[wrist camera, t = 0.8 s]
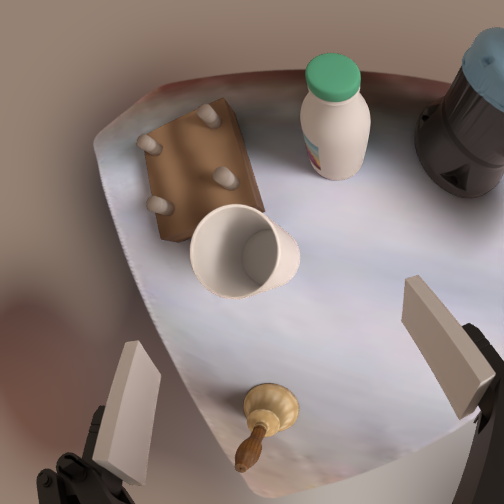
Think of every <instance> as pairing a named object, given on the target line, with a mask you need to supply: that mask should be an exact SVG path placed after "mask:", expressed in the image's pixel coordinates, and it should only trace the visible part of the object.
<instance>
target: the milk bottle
mask: <svg viewBox="0 0 504 504" xmlns="http://www.w3.org/2000/svg"><path fill="white" fill-rule="evenodd" d="M305 76H306V82H307V86H308V90H309V93H308V94H307V95H306V97H305V99H304V101H303V103H302V107H301V112H300V121H301V127H302V132H303V136H304V140H305V144H306V148H307V152H308V155H309V159H310V162H311V164H312V166H313V168H314V169H315V170H316V171H317V172H318V173H319V174H320V175H321V176H323V177H325V178H327V179H331V180H345V179H348V178H350V177H352V176H354V175H355V174H356V173H357V172H358V171H359V170H360V168H361V166H362V164H363V161H364V157H365V153H366V148H367V143H368V138H369V132H370V122H371V121H370V112H369V109H368V106H367V104H366V102H365V100H364V98H363V97H362V95H361V94H360V93H359V91H360V81H361V76H360V71H359V69H358V67H357V65H356V64H355V63H354V62H353V61H352V60H351V59H350V58H348V57H346V56H344V55H341V54H335V53H327V54H322V55H319V56H317V57H315V58H314V59H312V60H311V61H310V62H309V64H308V65H307V68H306V72H305Z"/></svg>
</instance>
